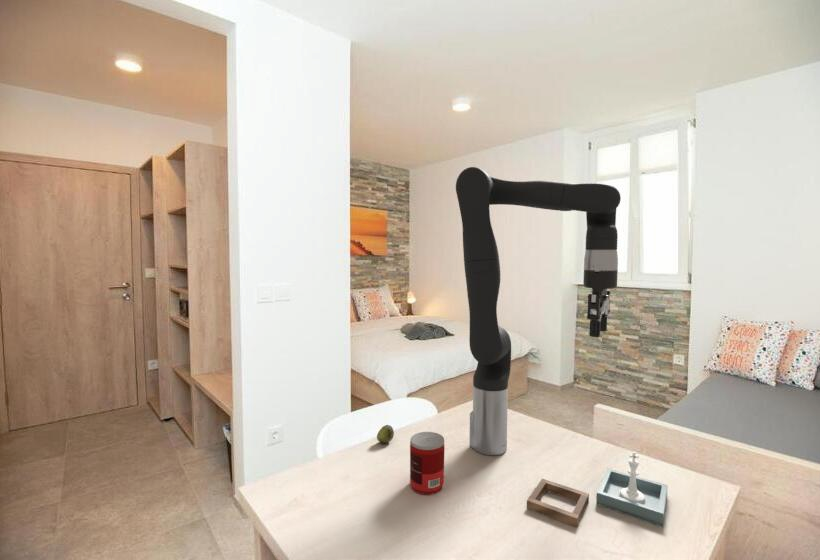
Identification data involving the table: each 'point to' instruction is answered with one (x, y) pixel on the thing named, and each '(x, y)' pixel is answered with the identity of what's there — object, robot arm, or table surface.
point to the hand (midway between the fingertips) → (598, 333)
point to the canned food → (427, 462)
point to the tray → (647, 511)
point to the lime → (385, 434)
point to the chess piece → (632, 483)
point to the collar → (553, 511)
